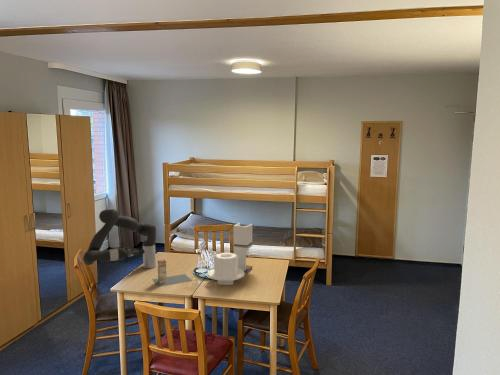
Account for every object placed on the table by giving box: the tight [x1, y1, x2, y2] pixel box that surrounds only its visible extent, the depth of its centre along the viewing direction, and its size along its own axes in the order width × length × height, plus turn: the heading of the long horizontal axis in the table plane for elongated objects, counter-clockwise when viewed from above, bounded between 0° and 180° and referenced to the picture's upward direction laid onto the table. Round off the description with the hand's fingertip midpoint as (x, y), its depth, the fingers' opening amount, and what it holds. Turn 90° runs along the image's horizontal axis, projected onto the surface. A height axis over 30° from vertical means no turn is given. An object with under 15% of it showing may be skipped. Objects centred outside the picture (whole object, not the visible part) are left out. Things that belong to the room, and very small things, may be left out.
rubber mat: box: [152, 273, 193, 288], centre depth 276 cm, size 16×24×1 cm, turn 119°
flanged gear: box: [207, 252, 245, 286], centre depth 273 cm, size 25×25×19 cm
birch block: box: [157, 259, 167, 283], centre depth 272 cm, size 4×4×15 cm
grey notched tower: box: [233, 222, 253, 274], centre depth 297 cm, size 11×11×35 cm
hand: (143, 250), depth 264 cm, fingers open, 3 cm apart
